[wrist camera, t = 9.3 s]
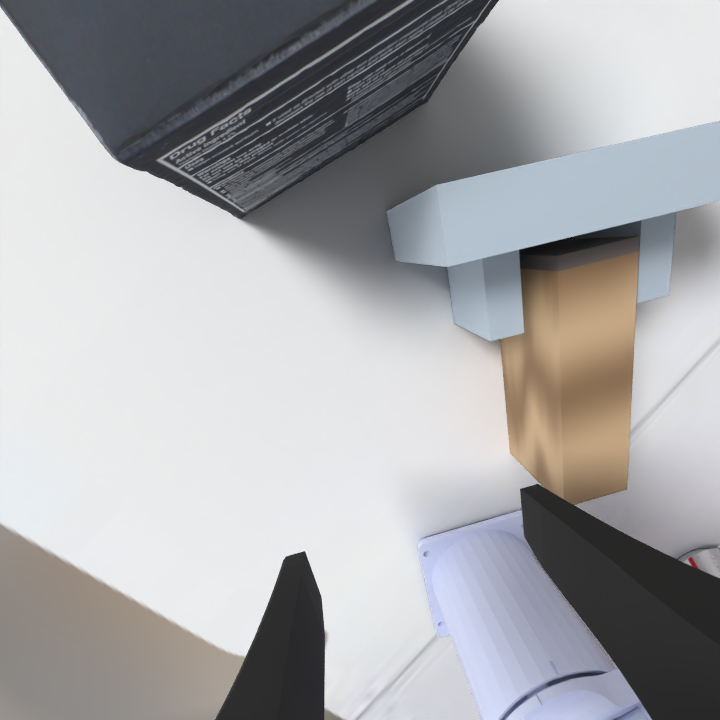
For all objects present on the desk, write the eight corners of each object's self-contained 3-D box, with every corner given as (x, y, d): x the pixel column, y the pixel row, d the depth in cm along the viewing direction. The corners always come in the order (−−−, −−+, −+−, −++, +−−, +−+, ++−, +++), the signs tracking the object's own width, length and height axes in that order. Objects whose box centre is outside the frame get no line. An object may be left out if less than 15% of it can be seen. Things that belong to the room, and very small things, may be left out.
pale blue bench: (642, 276, 20) (810, 288, 13) (408, 335, 19) (461, 380, 12) (648, 151, 18) (853, 90, 11) (386, 211, 17) (436, 184, 10)
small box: (361, -73, 13) (505, -969, 4) (432, 101, 16) (646, -160, 6) (138, 74, 14) (-287, -365, 4) (237, 224, 16) (120, 180, 6)
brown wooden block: (560, 439, 22) (627, 489, 18) (510, 453, 22) (564, 507, 17) (554, 239, 18) (639, 235, 14) (493, 254, 18) (557, 255, 13)
